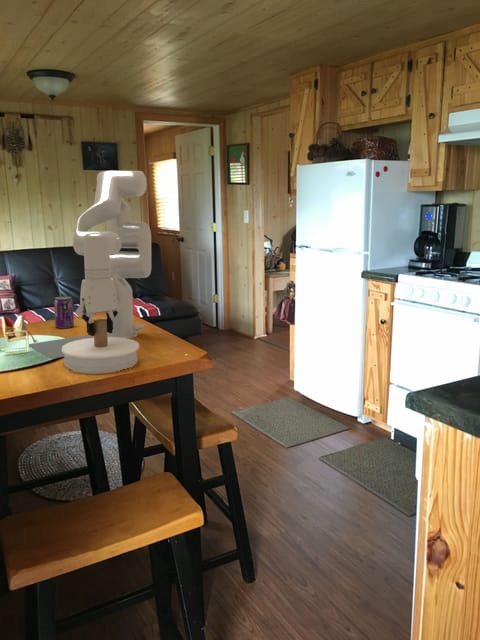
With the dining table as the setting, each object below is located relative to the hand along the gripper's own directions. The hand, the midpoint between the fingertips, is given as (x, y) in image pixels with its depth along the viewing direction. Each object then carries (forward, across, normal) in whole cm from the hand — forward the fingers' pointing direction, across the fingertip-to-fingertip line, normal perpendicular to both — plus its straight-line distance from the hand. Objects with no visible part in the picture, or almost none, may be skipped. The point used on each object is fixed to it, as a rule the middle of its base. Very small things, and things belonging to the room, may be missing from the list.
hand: (100, 333), depth 167 cm
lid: (+5, 0, 0) cm, 5 cm away
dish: (+10, 0, 0) cm, 10 cm away
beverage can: (+10, -13, -57) cm, 59 cm away
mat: (+9, -1, -24) cm, 26 cm away
